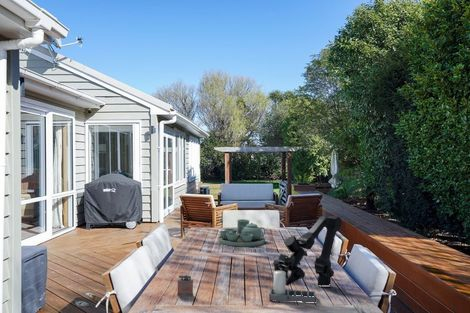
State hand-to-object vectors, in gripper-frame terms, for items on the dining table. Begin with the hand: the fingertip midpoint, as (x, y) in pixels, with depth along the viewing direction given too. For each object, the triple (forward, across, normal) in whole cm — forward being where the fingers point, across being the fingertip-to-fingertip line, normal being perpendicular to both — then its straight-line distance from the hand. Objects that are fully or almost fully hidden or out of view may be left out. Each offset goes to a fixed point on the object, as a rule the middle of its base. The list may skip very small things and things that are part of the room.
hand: (279, 282), depth 197 cm
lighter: (+32, -30, -21) cm, 49 cm away
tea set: (-41, -119, +53) cm, 137 cm away
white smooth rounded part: (+6, 0, +5) cm, 8 cm away
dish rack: (+2, +5, +9) cm, 10 cm away
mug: (-12, -26, +23) cm, 37 cm away
